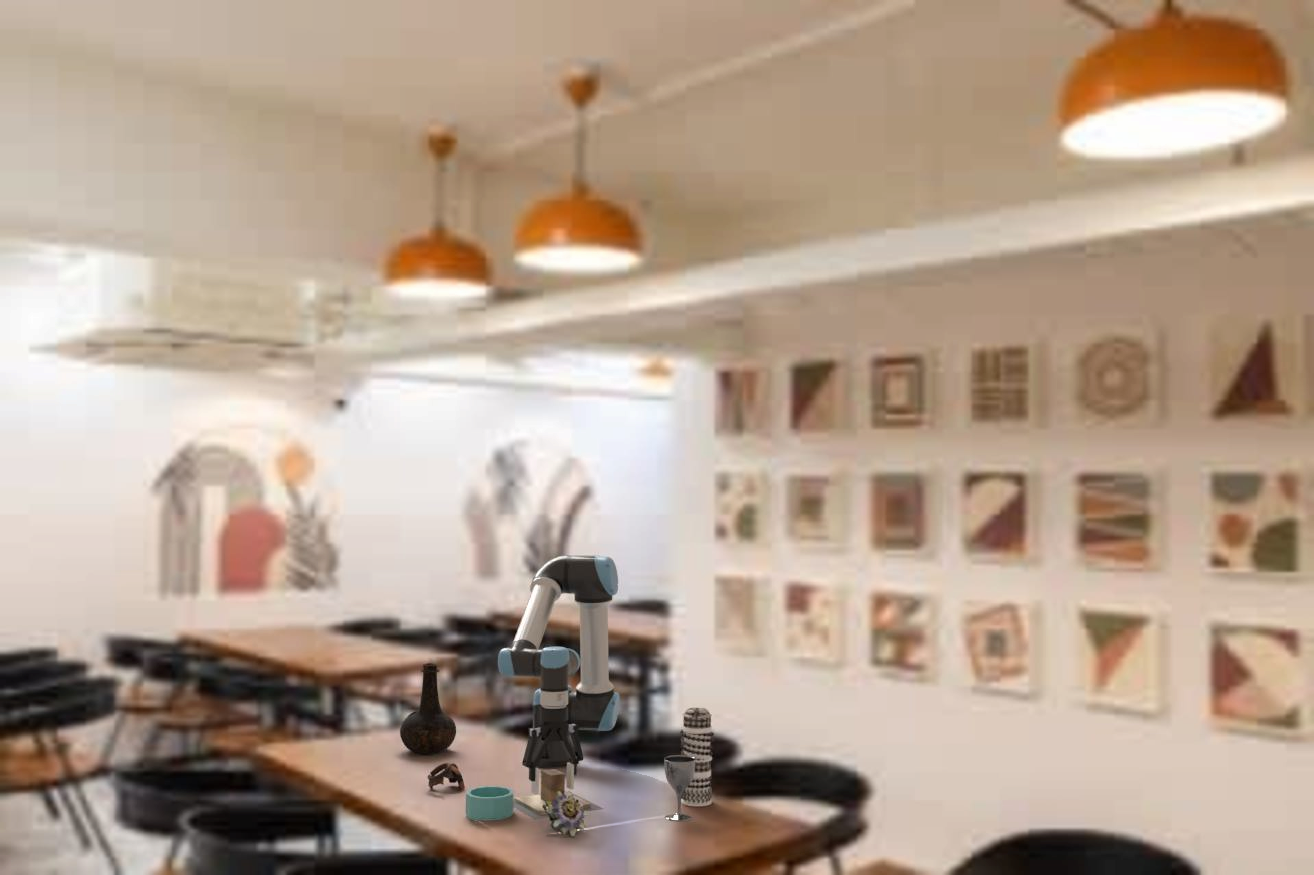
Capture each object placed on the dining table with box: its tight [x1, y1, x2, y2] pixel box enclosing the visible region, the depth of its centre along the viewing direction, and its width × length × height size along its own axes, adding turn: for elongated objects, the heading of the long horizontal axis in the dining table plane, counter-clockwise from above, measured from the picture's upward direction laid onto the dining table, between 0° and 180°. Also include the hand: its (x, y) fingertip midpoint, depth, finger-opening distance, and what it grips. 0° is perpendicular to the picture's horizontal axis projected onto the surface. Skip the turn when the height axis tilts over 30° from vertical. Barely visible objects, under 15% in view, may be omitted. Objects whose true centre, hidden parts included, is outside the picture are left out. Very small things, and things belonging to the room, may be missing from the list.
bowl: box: [465, 785, 515, 823], centre depth 297 cm, size 12×12×6 cm
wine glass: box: [663, 754, 695, 822], centre depth 298 cm, size 8×8×15 cm
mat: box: [514, 791, 604, 820], centre depth 306 cm, size 20×20×1 cm
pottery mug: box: [426, 762, 466, 791], centre depth 324 cm, size 12×10×8 cm
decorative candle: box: [679, 707, 715, 807], centre depth 313 cm, size 9×9×25 cm
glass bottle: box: [399, 662, 457, 755], centre depth 369 cm, size 18×18×28 cm
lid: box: [514, 768, 591, 815], centre depth 306 cm, size 15×15×8 cm
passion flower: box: [542, 791, 590, 838], centre depth 283 cm, size 11×11×12 cm
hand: (552, 790), depth 306 cm, fingers open, 10 cm apart
